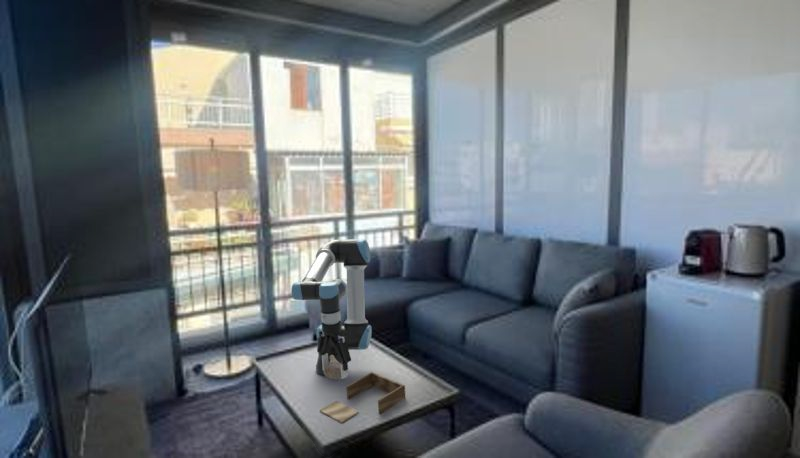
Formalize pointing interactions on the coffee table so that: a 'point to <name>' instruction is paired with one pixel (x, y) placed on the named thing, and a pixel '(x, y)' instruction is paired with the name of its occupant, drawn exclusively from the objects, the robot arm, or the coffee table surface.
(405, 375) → the coffee table surface
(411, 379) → the coffee table surface
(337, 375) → the mineral specimen
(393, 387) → the brown open u-shaped frame
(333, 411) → the mat
